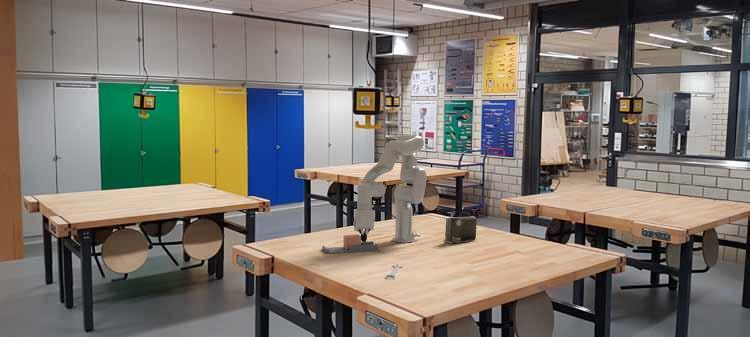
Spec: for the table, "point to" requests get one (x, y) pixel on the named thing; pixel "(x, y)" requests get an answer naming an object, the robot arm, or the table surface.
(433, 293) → the table surface
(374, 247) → the chute
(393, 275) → the wrench
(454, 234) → the radio
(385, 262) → the table surface
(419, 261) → the table surface
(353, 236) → the block
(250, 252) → the table surface
